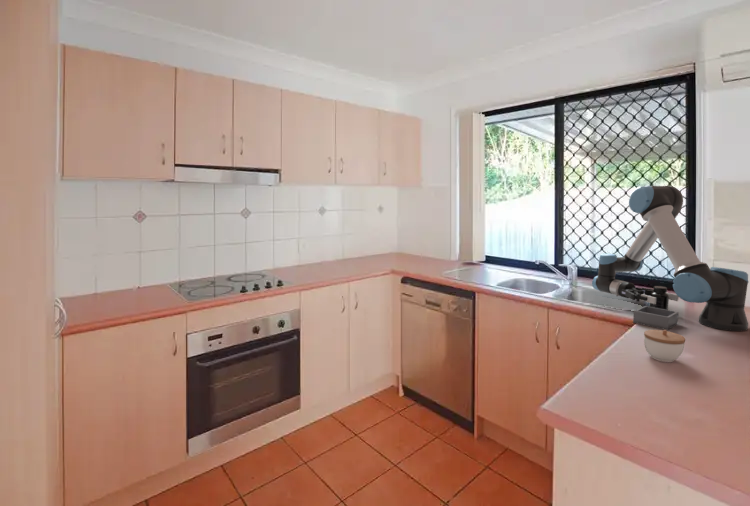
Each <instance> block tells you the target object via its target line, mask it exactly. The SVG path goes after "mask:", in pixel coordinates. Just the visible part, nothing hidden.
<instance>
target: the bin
mask: <svg viewBox="0 0 750 506" xmlns="http://www.w3.org/2000/svg"><path fill="white" fill-rule="evenodd" d="M678 319H679V311H676V310H675V311H674V310H669V309H668V310H665V309H659V308H654V307H649V306H647V305H644V306H641V307H639V308H637V309H635V310H634V311H633V320H632V323H633V324H638V325H641V326H648V327H652V328H657V329H661V330H667V331H669V330H670V329H671V328H673V327H675V326H676V325H678V321H679V320H678Z"/></svg>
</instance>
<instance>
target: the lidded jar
mask: <svg viewBox="0 0 750 506" xmlns="http://www.w3.org/2000/svg"><path fill="white" fill-rule="evenodd" d="M643 335H644V336H643V337H644V339H643V342H644V343H643V345H644V348H645V351H646V353H648V355H649V356H650V357H651V358H652V359H654V360H655V361H656V360H657V361H659V362H665V363H672V362H674V361H675V360H677V359H678V358H680V356H682V354H683V351H684V348H685V343H686V338H685V336H683V335H682V334H679V333H677V332H672V331H669V330H665V329H661V330H660V329H647V330H645V331H644V334H643Z"/></svg>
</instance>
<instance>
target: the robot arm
mask: <svg viewBox="0 0 750 506" xmlns="http://www.w3.org/2000/svg"><path fill="white" fill-rule="evenodd" d="M629 196H630V197H629V199H628V206H629V209H630V211H632V212H633V213H636V214H639V215H640V217H641V218H642V220H643V221H645V222H646V223H645V225H644V226H643V227H642V229H641V231H639V234H638V235H637V236H636V238H635V240H634V241H633V242H632V244H631V245H630V247H629V248H628V250H627V251H626V253H625V254H624V255H623V257H621V256H620V257H619V256H617V255H616V254H614V253H601V254H600V255H599V259H598V274H597V275H596V276H594V277H593V279H592V280H591V286H592V288H593V289H594V290H596V291H599V292H601V293H606V294H610V295H613V296H614V295H615V297H621V298H622V297H623V298H626V299H630V300H632V301H636V303H638V302H640V301H642V302H646V303H649V304H650V303H653V304H656V297H652V296H650V294H651V293H652V292H654V291H653V289H654V288H647V287H639V286H637V287H636V285H635V283H632V282H629V281H624V280H620V279H616V274H617V273H634V272H638V271H641V269H642V268H643V265H644V263H643V262H644V261H643V259H644V258H645V257H646V255H647V253H648V252H649V251H650V249H651V248H652V247H653V245H654V244H655V242H656V241H657V240H659V242H660V244H661V246H662V248H663V250H664V252H665V253H666V255H667V256H668V257H667V258H668V259H669V262H670V263H671V264H672V266H673V267H674V270H675V271H674V272H673V273H672V274H673V275H672V276H673V277H674V279H673V281H672V283H673V284H672V288H673V291H674V293H672V292H668V291H667V292H666V293H667V294H668V295H669V301H674V302H679V299H681V300H683V301H684V302H687V303H692V304H693V303H697V304H701V303H705V305H704V307H703V309H702V311H701V312H700V314H699V317H698V323H699V324H701V325H704V326H706V327H708V328H714V329H718V330H724V331H732V332H742V331H741V330H745V331H747V330H748V329H749V322H748V318H747V314H746V311H745V307H746V306H745V305H746V299H747V291H748V286H749V285H748V284H749V274H748V273H747V271H746V272H745V271H743V270H739V269H730V268H724V267H719V266H718V267H717V266H711V267H709V265H708V263H706V262H703V261H701V260H700V259H699V257H698V256H697V253H696V252H695V250H694V249H693V247H692V245H691V244H690V242H689V240H688V239H687V237H686V234H684V232H683V230H682V228H681V227H680V225H679V223H678V222H677V219H676V218H677V216H678V215H679V214H680V212H681V210H682V208H683V205H684V197H683V194H682V192H681V191H680V190H679V189H678V188H676V187H675V186H672V185H671V186H670V185H641V186H638V187H636V188H635V189H634V190H633V191H632V192H631V193H630V195H629ZM746 329H747V330H746Z"/></svg>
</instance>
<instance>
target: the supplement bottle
mask: <svg viewBox="0 0 750 506" xmlns="http://www.w3.org/2000/svg"><path fill="white" fill-rule="evenodd" d="M652 289H653V291H654V292H652V293H651V294H650V296H652V297H656V304H653V303H649V307H654V308H659V309H665V310H669V303H670V299H669V295H668V294H667V293H668V287H666V286H662V285H654V286H653V288H652ZM666 292H667V293H666Z"/></svg>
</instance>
